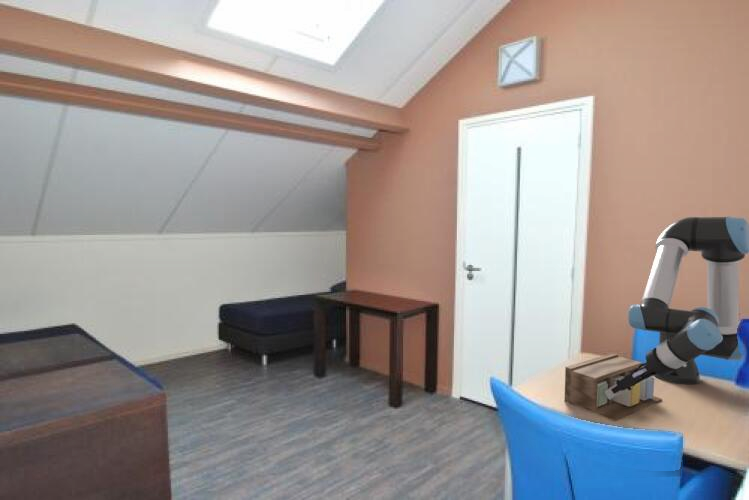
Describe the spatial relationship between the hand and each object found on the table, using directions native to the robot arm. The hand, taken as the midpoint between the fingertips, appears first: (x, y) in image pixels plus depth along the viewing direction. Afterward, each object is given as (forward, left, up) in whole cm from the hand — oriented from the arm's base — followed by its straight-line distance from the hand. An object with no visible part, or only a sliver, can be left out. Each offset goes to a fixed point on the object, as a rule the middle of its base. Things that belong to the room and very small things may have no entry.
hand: (607, 395), depth 145 cm
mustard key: (-8, -4, -4) cm, 10 cm away
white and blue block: (-16, -9, -4) cm, 18 cm away
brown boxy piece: (-7, -7, -5) cm, 11 cm away
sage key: (+3, -5, -4) cm, 7 cm away
